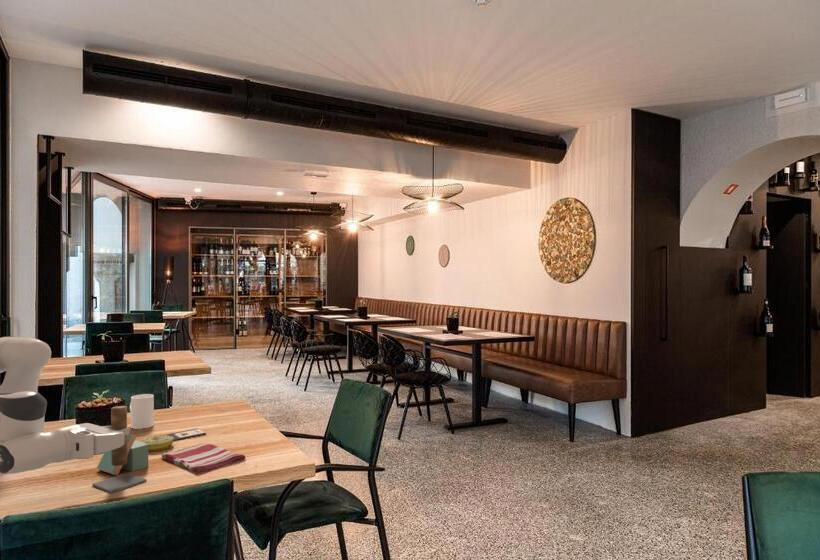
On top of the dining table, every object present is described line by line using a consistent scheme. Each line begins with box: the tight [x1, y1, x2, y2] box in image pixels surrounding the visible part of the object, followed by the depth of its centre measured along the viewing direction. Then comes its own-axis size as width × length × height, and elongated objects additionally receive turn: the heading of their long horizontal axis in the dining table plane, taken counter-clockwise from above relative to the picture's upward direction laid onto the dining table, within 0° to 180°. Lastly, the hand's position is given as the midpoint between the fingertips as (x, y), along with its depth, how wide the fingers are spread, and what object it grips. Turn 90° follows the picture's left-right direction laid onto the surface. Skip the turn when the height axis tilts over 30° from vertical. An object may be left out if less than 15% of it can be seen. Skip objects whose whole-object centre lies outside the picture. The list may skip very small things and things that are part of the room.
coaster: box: [92, 472, 147, 494], centre depth 153 cm, size 10×10×1 cm
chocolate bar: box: [165, 428, 207, 442], centre depth 197 cm, size 9×1×18 cm
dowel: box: [110, 405, 128, 466], centre depth 152 cm, size 4×4×16 cm
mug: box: [129, 393, 155, 430], centre depth 213 cm, size 12×8×12 cm
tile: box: [96, 433, 137, 476], centre depth 163 cm, size 2×9×12 cm, turn 58°
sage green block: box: [121, 440, 149, 472], centre depth 167 cm, size 5×11×7 cm, turn 58°
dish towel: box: [161, 442, 246, 475], centre depth 173 cm, size 17×23×3 cm
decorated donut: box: [140, 434, 175, 453], centre depth 185 cm, size 10×11×4 cm
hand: (122, 429), depth 153 cm, fingers closed on dowel, 4 cm apart
